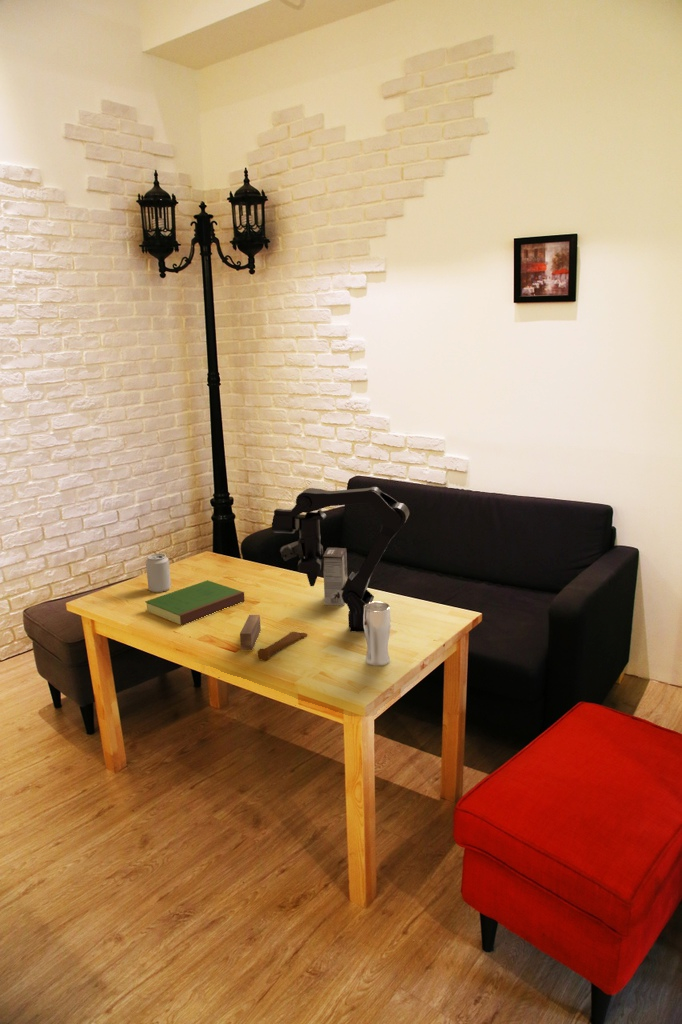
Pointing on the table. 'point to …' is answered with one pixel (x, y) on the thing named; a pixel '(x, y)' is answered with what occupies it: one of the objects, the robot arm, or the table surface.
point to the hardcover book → (194, 602)
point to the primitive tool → (280, 644)
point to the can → (158, 572)
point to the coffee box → (334, 575)
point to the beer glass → (377, 632)
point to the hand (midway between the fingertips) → (312, 585)
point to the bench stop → (250, 632)
